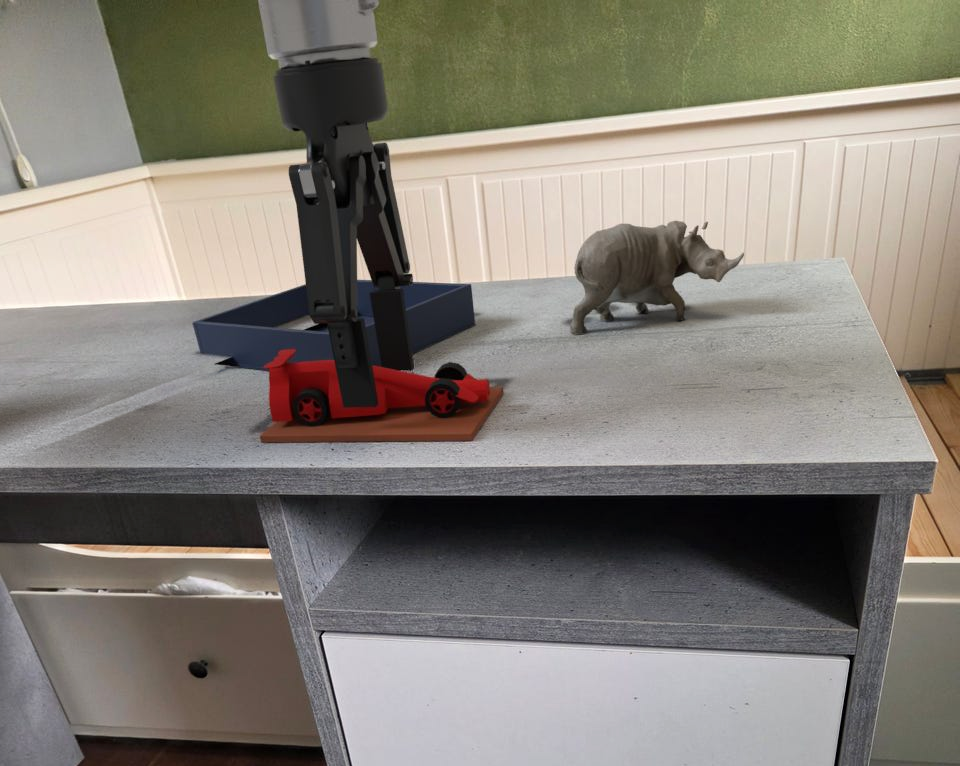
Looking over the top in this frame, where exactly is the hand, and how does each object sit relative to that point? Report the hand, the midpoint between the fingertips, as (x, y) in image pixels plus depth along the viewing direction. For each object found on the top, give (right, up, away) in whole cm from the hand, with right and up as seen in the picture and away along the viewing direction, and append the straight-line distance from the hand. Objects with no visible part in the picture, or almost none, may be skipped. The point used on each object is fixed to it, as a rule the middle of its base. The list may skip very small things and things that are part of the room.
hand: (380, 386), depth 72 cm
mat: (0, -2, +1) cm, 3 cm away
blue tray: (-7, +11, +24) cm, 27 cm away
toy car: (0, -2, +1) cm, 2 cm away
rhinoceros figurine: (+26, +12, +19) cm, 34 cm away
